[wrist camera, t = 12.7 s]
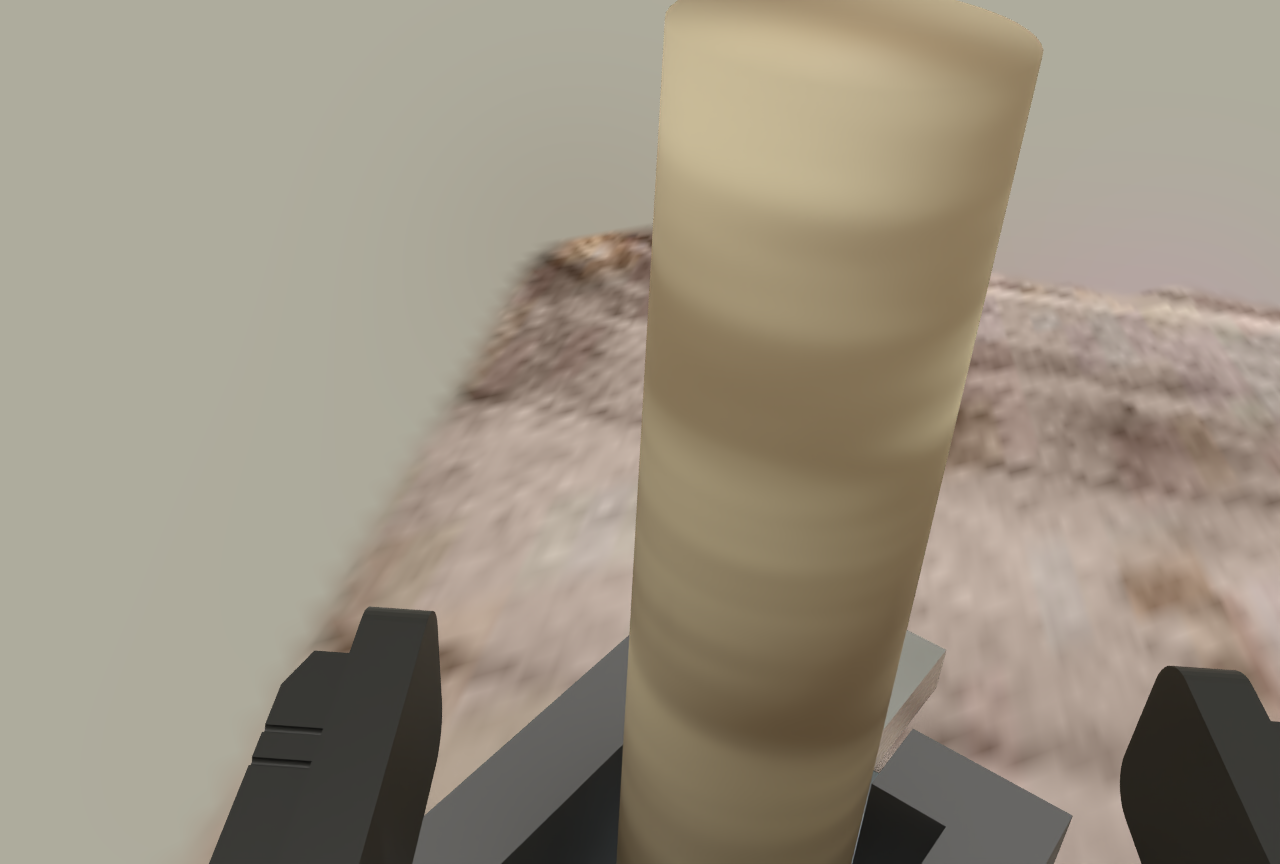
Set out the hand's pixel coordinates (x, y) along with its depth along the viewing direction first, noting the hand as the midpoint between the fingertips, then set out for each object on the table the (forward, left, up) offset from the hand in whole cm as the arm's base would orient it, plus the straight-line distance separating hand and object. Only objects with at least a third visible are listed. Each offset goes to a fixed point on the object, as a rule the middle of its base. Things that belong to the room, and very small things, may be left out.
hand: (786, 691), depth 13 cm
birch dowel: (-3, -2, -12) cm, 12 cm away
